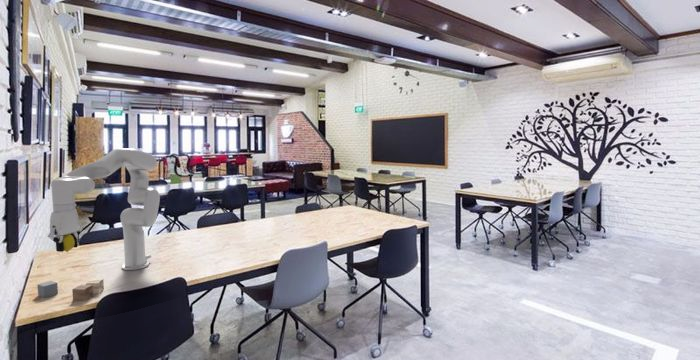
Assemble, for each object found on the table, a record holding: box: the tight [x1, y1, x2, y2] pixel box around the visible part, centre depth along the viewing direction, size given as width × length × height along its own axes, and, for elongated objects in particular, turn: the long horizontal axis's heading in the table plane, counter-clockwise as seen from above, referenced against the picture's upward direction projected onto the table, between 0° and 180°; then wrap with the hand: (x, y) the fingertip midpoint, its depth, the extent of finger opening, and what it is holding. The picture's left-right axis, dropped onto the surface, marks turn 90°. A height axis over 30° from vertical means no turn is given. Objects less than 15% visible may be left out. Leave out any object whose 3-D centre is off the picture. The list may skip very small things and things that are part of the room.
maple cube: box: [85, 278, 105, 295], centre depth 166 cm, size 5×5×5 cm
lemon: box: [62, 234, 75, 253], centre depth 160 cm, size 6×6×8 cm
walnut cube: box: [71, 284, 94, 302], centre depth 159 cm, size 5×5×5 cm
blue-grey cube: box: [37, 280, 59, 299], centre depth 162 cm, size 5×5×5 cm
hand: (67, 248), depth 161 cm, fingers closed on lemon, 5 cm apart
